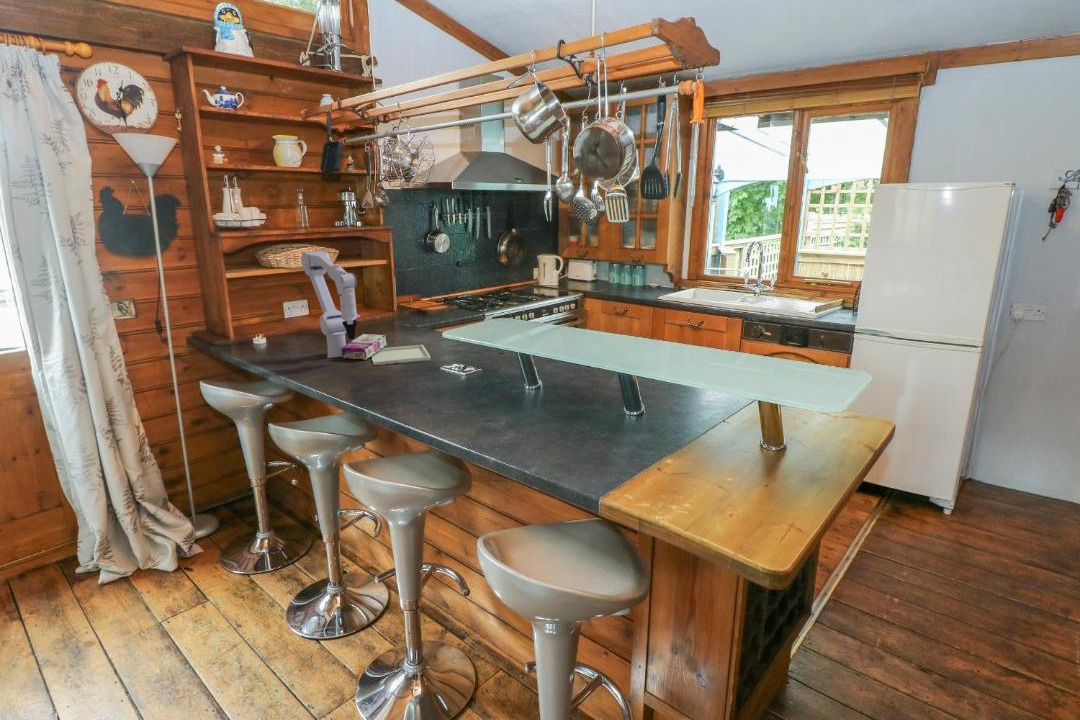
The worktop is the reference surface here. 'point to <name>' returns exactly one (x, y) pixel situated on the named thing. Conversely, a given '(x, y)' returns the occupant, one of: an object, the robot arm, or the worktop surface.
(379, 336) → the candy bar box
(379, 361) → the tray
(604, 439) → the worktop surface
